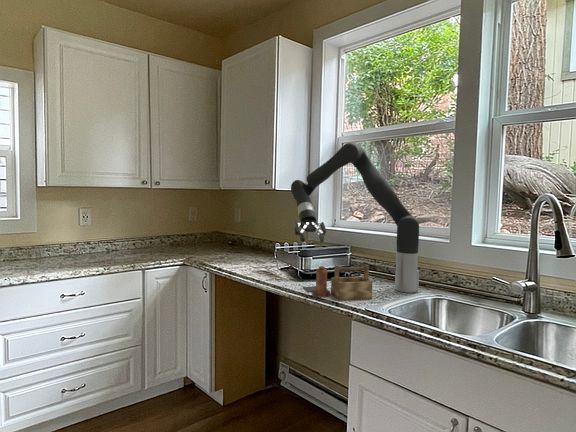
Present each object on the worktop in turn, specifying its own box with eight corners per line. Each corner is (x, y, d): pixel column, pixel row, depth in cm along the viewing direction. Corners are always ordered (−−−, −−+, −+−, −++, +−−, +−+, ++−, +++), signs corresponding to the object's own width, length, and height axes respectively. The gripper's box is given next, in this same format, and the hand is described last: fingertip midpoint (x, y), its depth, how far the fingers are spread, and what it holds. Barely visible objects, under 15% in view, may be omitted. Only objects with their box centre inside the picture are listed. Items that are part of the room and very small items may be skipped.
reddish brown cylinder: (323, 294, 167) (324, 266, 166) (326, 296, 164) (327, 267, 163) (315, 294, 166) (316, 266, 165) (318, 296, 163) (319, 267, 162)
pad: (319, 287, 179) (319, 286, 179) (325, 291, 172) (325, 290, 172) (302, 287, 178) (302, 286, 178) (307, 292, 170) (307, 291, 170)
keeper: (327, 294, 168) (327, 289, 168) (330, 296, 164) (330, 291, 164) (311, 294, 166) (312, 289, 166) (314, 297, 162) (314, 292, 162)
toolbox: (361, 292, 171) (362, 262, 170) (371, 298, 162) (373, 267, 161) (330, 293, 168) (331, 263, 167) (339, 300, 158) (340, 267, 158)
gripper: (293, 208, 183) (299, 236, 173) (323, 209, 186) (330, 236, 176) (290, 219, 188) (295, 246, 178) (319, 219, 192) (325, 246, 181)
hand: (312, 241), depth 177 cm, fingers open, 8 cm apart
